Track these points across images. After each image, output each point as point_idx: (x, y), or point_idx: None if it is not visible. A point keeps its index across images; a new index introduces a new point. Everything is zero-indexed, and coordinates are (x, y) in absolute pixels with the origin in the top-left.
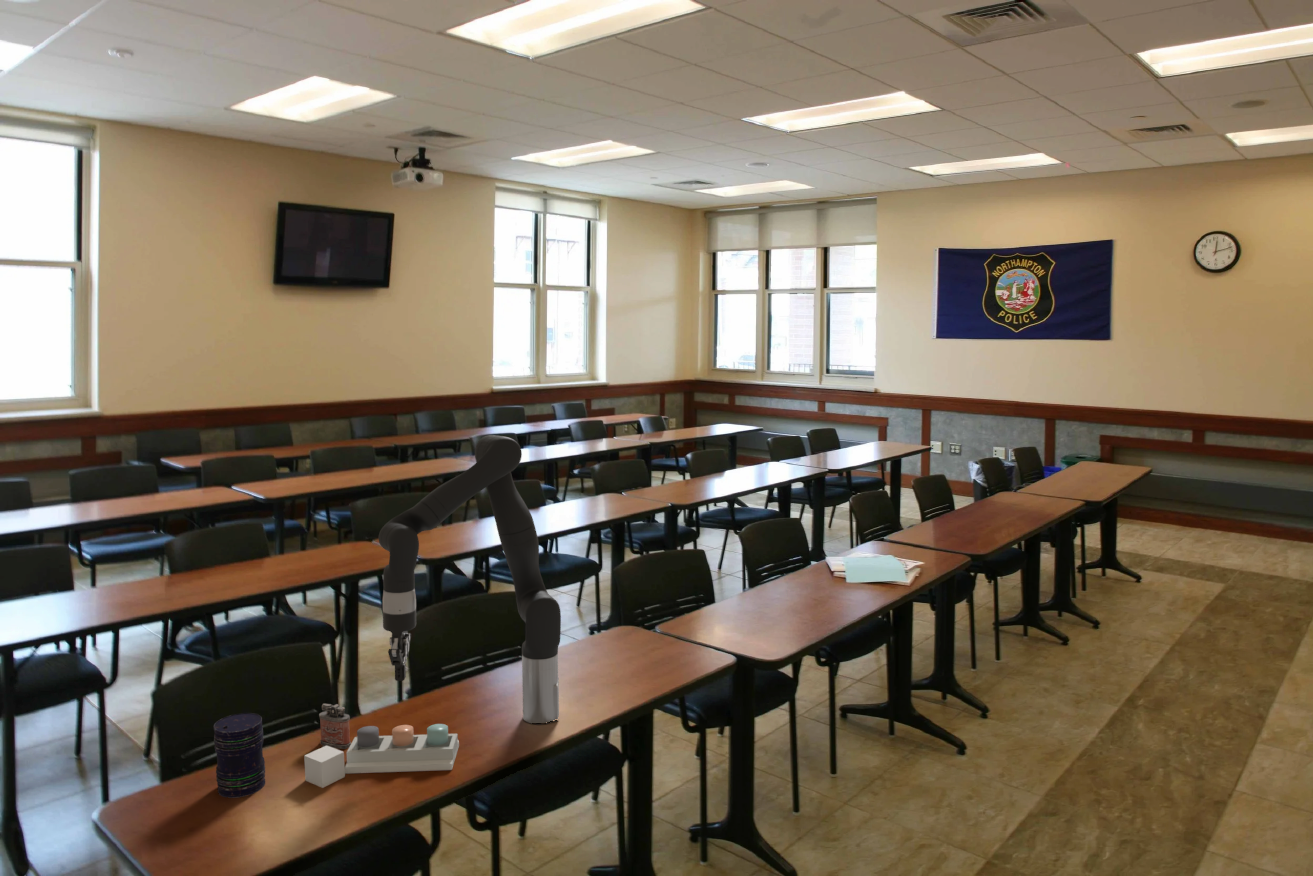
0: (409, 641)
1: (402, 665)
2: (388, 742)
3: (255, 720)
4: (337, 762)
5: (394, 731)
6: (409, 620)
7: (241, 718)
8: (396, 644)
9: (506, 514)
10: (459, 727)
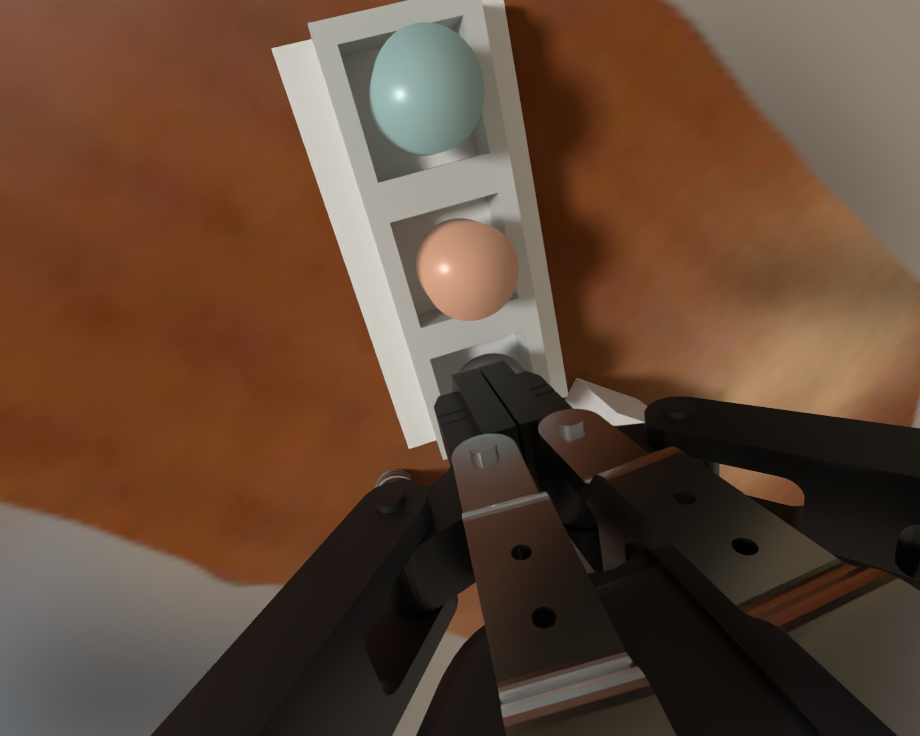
0: (226, 708)
1: (681, 397)
2: (466, 322)
3: None
4: (625, 408)
5: (498, 300)
6: None
7: None
8: None
9: None
10: (79, 133)
